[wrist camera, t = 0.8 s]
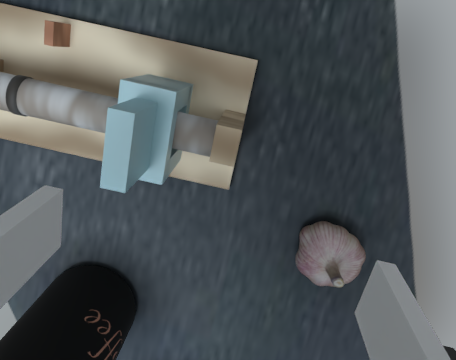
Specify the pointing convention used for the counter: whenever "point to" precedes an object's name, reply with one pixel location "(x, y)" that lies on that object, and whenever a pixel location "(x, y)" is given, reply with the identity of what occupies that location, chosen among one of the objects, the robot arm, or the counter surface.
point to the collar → (143, 131)
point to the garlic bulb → (329, 254)
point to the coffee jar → (74, 319)
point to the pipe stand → (115, 89)
